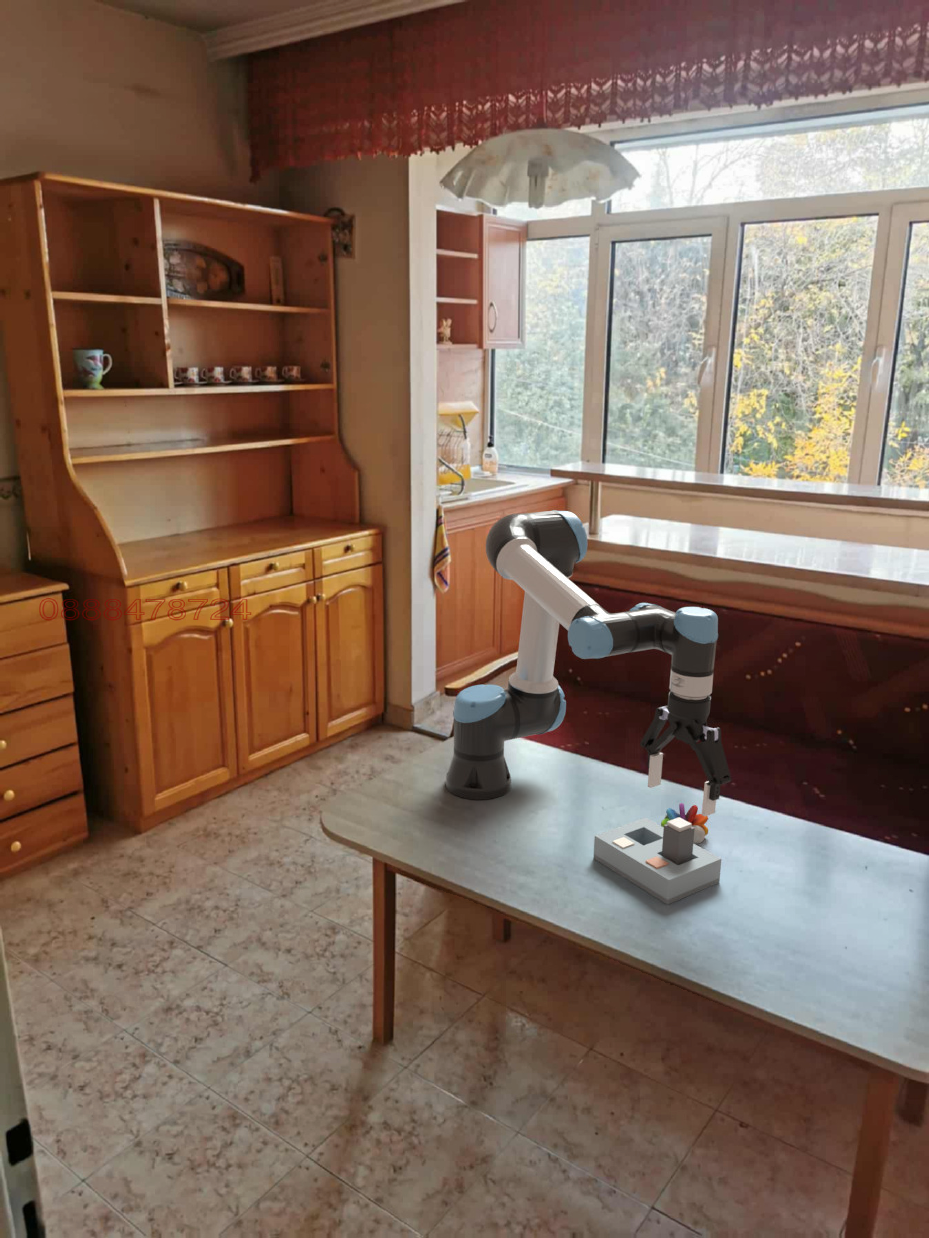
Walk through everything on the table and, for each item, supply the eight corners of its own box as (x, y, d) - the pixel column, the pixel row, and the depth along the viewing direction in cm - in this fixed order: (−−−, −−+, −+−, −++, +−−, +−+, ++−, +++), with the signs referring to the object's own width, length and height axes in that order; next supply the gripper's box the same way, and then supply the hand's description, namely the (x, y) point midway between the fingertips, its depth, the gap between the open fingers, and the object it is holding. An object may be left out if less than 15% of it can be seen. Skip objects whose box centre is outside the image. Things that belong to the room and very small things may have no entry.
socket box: (593, 858, 186) (594, 834, 184) (644, 839, 193) (645, 816, 192) (667, 904, 170) (669, 878, 168) (719, 882, 177) (721, 857, 176)
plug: (660, 872, 179) (664, 821, 176) (675, 866, 181) (679, 815, 178) (675, 881, 176) (679, 829, 173) (690, 875, 178) (694, 823, 175)
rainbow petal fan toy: (708, 848, 190) (711, 815, 189) (660, 843, 192) (662, 811, 190) (706, 829, 198) (709, 797, 197) (660, 824, 200) (662, 793, 198)
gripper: (626, 676, 177) (619, 779, 183) (730, 719, 157) (718, 832, 163) (655, 670, 181) (647, 770, 187) (759, 710, 161) (746, 821, 167)
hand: (680, 799), depth 175 cm, fingers open, 13 cm apart
